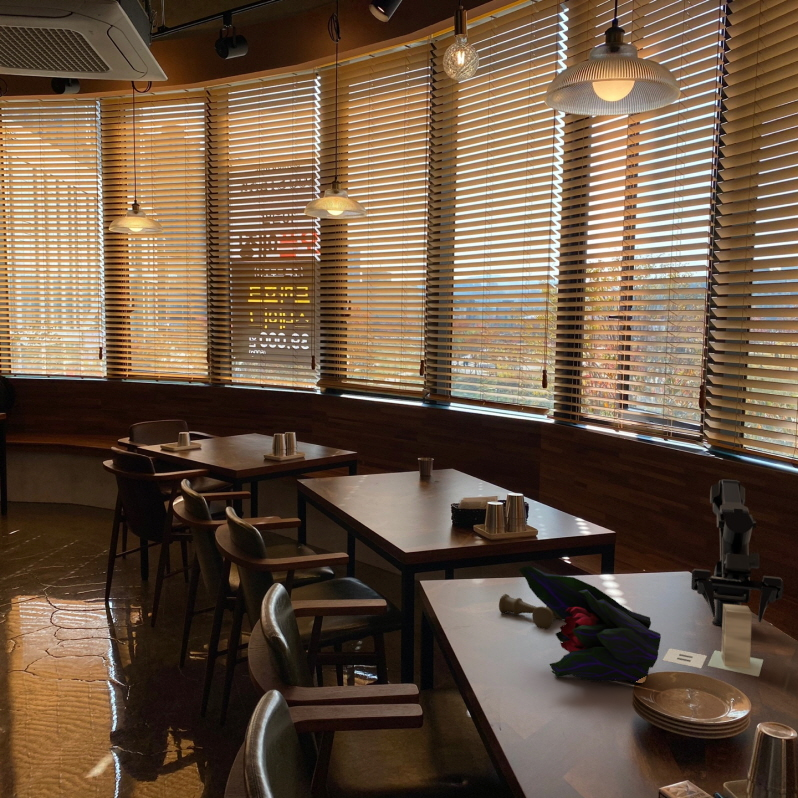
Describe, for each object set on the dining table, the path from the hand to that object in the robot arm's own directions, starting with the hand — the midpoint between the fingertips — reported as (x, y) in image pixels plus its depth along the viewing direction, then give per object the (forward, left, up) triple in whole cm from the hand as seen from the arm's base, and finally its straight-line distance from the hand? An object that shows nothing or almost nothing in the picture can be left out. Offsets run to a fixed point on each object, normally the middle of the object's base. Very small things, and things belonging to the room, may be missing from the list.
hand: (736, 618), depth 164 cm
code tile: (+5, -10, -10) cm, 14 cm away
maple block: (+2, 0, -9) cm, 9 cm away
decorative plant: (+25, -26, -10) cm, 37 cm away
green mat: (+2, 0, -10) cm, 10 cm away
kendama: (-2, -47, -10) cm, 48 cm away
